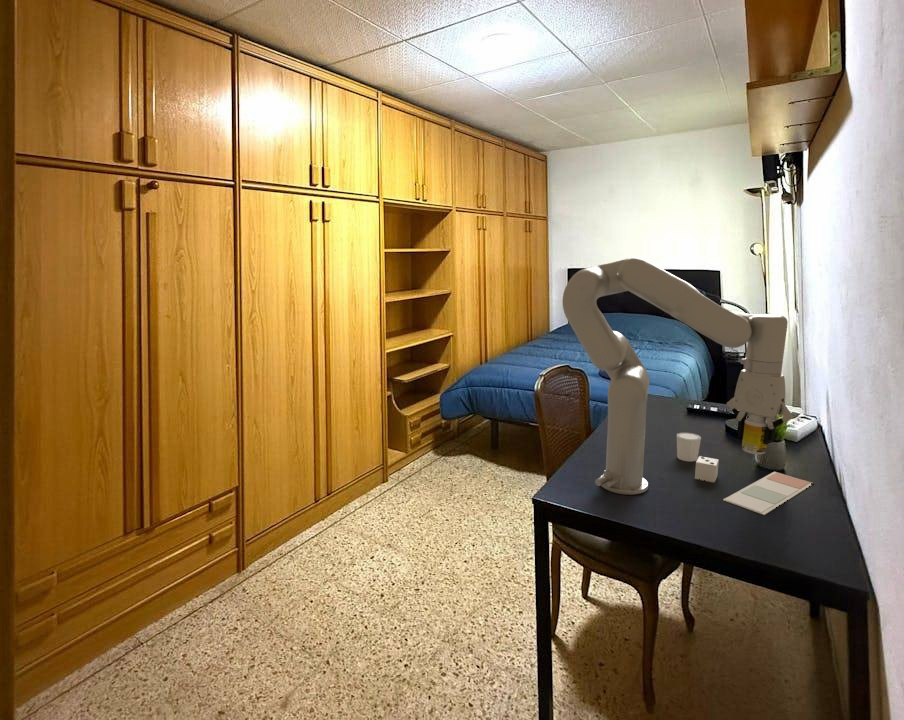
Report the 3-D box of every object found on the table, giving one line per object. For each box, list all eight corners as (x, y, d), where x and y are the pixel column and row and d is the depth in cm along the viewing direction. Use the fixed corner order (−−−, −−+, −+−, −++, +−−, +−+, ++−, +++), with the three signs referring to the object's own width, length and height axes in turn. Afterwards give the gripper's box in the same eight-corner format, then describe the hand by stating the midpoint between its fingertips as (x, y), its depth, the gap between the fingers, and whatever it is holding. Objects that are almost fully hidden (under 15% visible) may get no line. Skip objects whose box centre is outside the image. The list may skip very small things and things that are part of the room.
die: (714, 482, 149) (716, 465, 148) (694, 478, 151) (696, 461, 150) (717, 476, 153) (718, 459, 152) (698, 472, 155) (699, 455, 154)
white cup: (702, 462, 162) (703, 440, 161) (677, 461, 163) (678, 439, 162) (696, 454, 169) (698, 432, 167) (672, 453, 170) (674, 431, 168)
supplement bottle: (760, 457, 130) (765, 417, 128) (737, 450, 134) (742, 412, 132) (769, 451, 133) (774, 413, 131) (747, 445, 137) (751, 408, 135)
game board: (764, 515, 130) (764, 514, 130) (722, 500, 138) (723, 499, 138) (813, 483, 147) (813, 482, 147) (774, 472, 155) (774, 471, 155)
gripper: (719, 362, 134) (712, 433, 138) (796, 376, 120) (785, 453, 124) (735, 358, 138) (728, 427, 142) (810, 371, 125) (800, 446, 129)
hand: (755, 438), depth 133 cm, fingers closed on supplement bottle, 5 cm apart
